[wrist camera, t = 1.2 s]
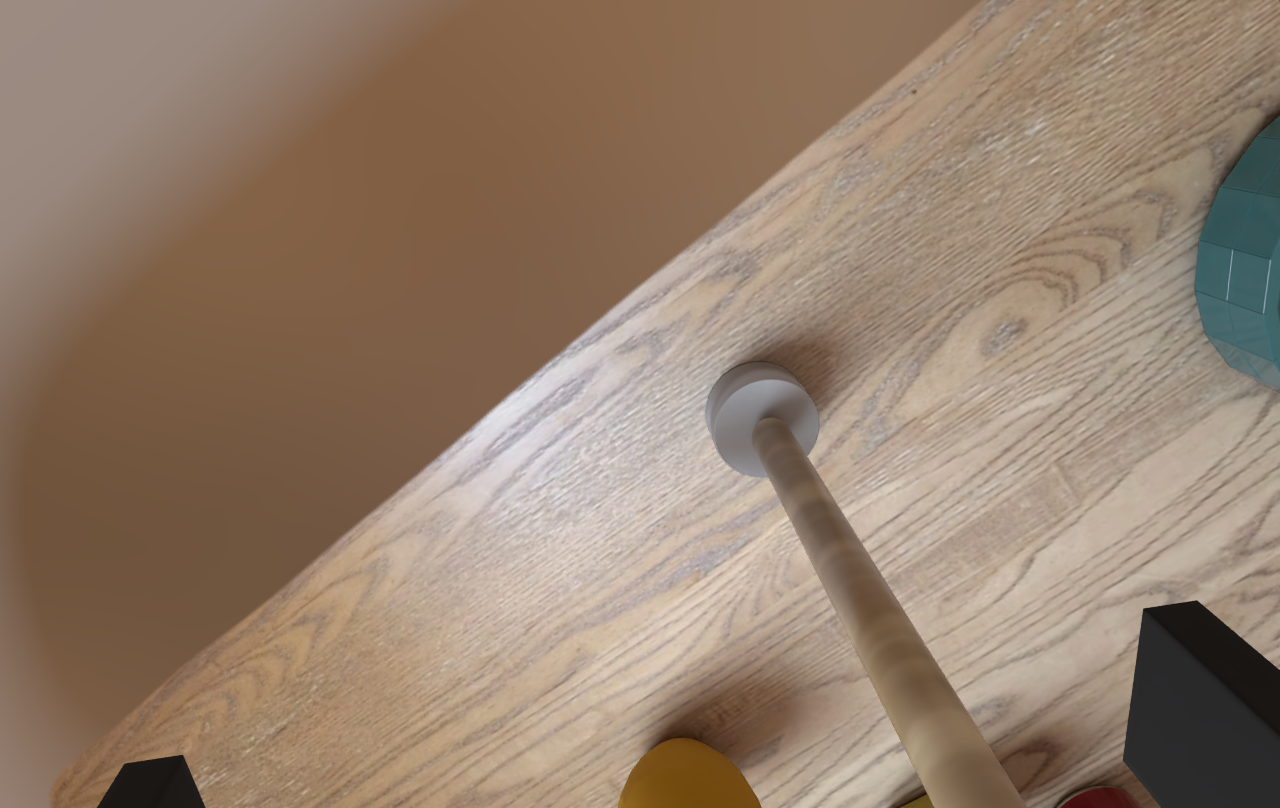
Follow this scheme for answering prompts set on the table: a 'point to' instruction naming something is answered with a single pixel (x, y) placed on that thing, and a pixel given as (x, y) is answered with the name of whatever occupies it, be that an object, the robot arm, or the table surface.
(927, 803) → the flower pot
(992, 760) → the wooden rounded dowel
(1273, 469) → the table surface
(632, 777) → the apple
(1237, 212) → the bowl
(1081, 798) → the soda can
